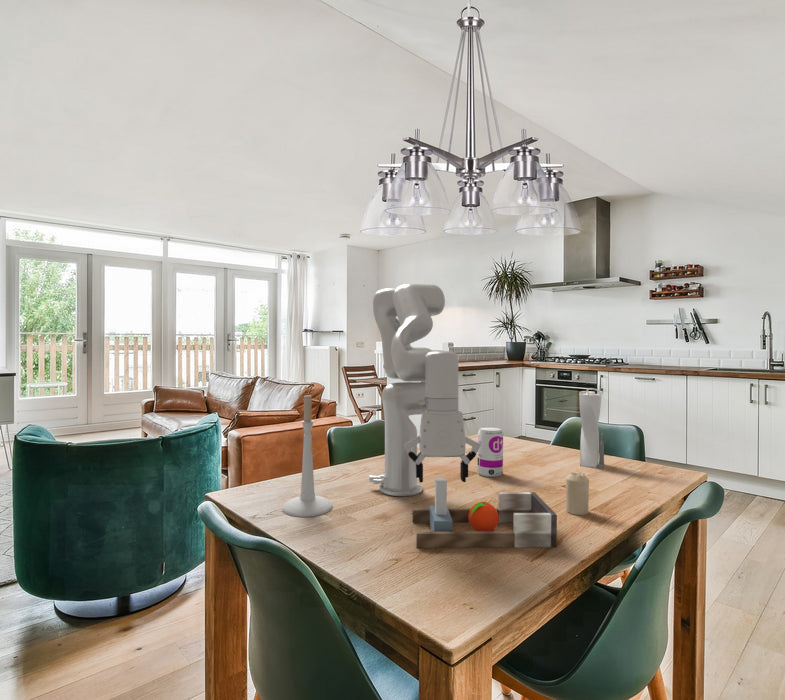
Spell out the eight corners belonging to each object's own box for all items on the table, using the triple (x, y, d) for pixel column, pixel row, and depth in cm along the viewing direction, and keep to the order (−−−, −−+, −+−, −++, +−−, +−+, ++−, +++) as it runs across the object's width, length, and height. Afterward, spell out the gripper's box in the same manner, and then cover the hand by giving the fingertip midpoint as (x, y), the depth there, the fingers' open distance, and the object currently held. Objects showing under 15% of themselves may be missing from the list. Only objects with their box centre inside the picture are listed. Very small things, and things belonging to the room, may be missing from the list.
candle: (582, 507, 130) (583, 470, 130) (592, 515, 125) (592, 476, 124) (562, 507, 130) (562, 470, 130) (570, 515, 124) (571, 476, 124)
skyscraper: (600, 470, 168) (601, 388, 167) (575, 467, 172) (577, 387, 172) (604, 465, 175) (605, 386, 174) (580, 462, 179) (581, 385, 179)
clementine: (482, 542, 108) (482, 510, 107) (458, 533, 113) (458, 502, 113) (505, 533, 113) (505, 502, 112) (481, 524, 118) (481, 495, 118)
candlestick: (279, 503, 133) (279, 392, 132) (326, 497, 137) (326, 390, 137) (286, 519, 121) (286, 397, 120) (337, 513, 125) (337, 395, 125)
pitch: (416, 547, 105) (416, 515, 105) (412, 520, 120) (412, 492, 120) (556, 547, 105) (556, 514, 105) (534, 520, 121) (534, 492, 121)
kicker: (434, 540, 108) (434, 485, 107) (429, 523, 118) (430, 473, 117) (452, 540, 108) (452, 485, 107) (446, 523, 118) (446, 473, 117)
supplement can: (507, 476, 160) (508, 430, 159) (485, 478, 157) (486, 431, 156) (493, 469, 167) (494, 425, 167) (472, 472, 164) (473, 427, 164)
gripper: (404, 407, 108) (404, 485, 108) (483, 407, 108) (483, 485, 108) (403, 403, 115) (403, 476, 115) (476, 403, 116) (476, 476, 116)
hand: (442, 480), depth 112 cm, fingers open, 9 cm apart
